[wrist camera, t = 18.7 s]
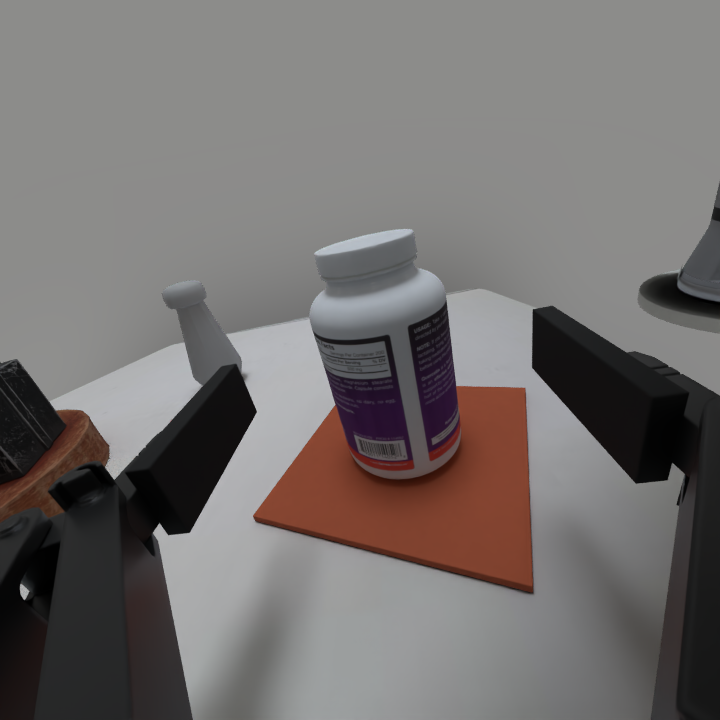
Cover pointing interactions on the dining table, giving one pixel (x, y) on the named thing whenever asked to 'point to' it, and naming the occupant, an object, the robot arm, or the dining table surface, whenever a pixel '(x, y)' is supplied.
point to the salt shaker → (200, 331)
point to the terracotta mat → (424, 496)
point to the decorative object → (38, 443)
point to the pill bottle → (387, 354)
